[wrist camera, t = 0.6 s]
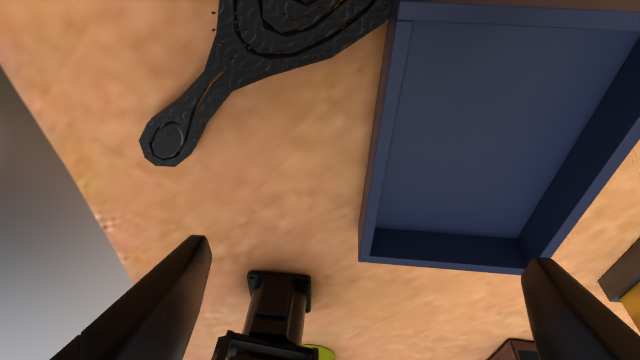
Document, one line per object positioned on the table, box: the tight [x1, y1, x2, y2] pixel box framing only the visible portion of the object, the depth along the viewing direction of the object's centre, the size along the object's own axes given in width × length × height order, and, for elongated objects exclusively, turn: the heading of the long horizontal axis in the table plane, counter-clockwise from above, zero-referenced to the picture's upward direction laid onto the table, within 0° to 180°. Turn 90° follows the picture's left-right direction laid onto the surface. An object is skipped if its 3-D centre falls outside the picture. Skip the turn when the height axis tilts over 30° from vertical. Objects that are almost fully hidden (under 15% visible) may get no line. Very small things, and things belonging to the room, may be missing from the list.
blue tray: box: [358, 0, 640, 275], centre depth 22 cm, size 19×14×4 cm
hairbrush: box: [139, 0, 394, 167], centre depth 19 cm, size 8×4×25 cm
